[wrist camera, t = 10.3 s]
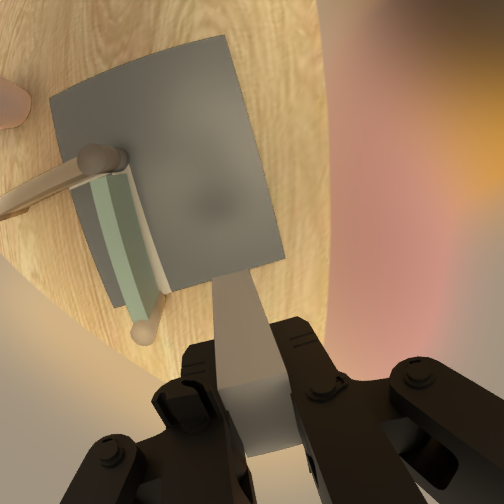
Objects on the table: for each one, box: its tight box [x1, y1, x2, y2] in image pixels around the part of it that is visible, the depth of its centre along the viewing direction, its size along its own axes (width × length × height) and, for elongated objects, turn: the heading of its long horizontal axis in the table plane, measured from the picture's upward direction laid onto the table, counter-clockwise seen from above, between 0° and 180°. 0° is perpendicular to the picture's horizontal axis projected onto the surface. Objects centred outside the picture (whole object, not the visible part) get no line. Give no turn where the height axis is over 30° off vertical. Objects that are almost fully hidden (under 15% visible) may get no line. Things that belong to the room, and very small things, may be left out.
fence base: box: [0, 143, 130, 221], centre depth 19 cm, size 2×13×7 cm, turn 105°
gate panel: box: [90, 174, 165, 346], centre depth 22 cm, size 12×2×6 cm, turn 12°
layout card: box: [49, 35, 285, 308], centre depth 23 cm, size 20×16×1 cm
